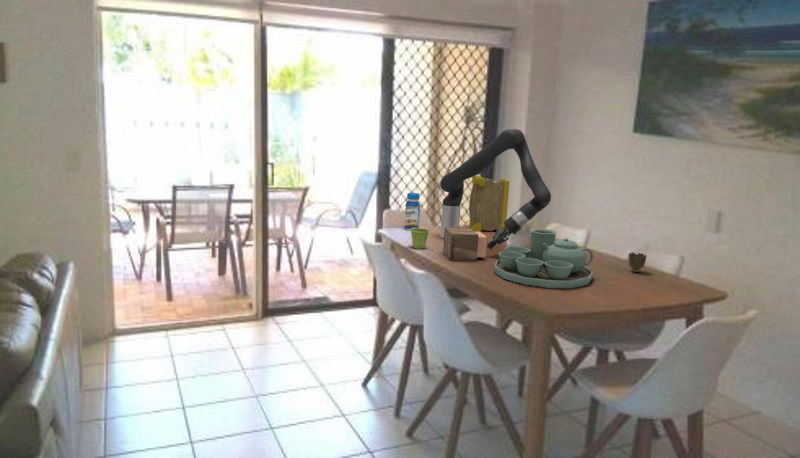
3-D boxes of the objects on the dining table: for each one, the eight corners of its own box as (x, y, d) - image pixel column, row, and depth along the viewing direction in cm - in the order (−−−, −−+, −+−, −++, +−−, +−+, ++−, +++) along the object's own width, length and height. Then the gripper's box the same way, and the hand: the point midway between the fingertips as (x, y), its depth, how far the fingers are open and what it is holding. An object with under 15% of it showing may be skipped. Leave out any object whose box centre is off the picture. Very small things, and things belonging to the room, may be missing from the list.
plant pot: (429, 246, 301) (430, 228, 299) (428, 250, 291) (429, 232, 290) (410, 244, 301) (411, 227, 300) (408, 249, 292) (409, 231, 291)
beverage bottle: (422, 229, 340) (424, 193, 336) (412, 231, 334) (413, 194, 330) (411, 227, 345) (413, 191, 342) (400, 228, 339) (402, 192, 335)
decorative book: (502, 228, 353) (505, 176, 347) (506, 232, 342) (510, 178, 336) (467, 227, 351) (470, 175, 345) (470, 231, 340) (474, 177, 335)
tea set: (476, 266, 266) (479, 229, 263) (553, 261, 282) (556, 226, 279) (529, 293, 231) (533, 250, 227) (613, 286, 246) (618, 245, 243)
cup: (644, 271, 271) (646, 253, 269) (645, 275, 264) (647, 256, 263) (626, 268, 273) (628, 251, 272) (626, 272, 266) (628, 254, 265)
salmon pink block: (458, 250, 288) (460, 231, 286) (478, 251, 289) (480, 231, 287) (464, 257, 276) (466, 236, 274) (485, 257, 277) (486, 237, 276)
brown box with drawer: (443, 252, 289) (444, 227, 287) (468, 252, 291) (469, 227, 288) (450, 260, 273) (452, 234, 271) (476, 261, 275) (478, 234, 273)
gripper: (506, 213, 288) (479, 238, 289) (515, 219, 275) (487, 245, 276) (516, 225, 290) (489, 250, 290) (526, 230, 277) (497, 257, 278)
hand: (488, 247), depth 283 cm, fingers closed
